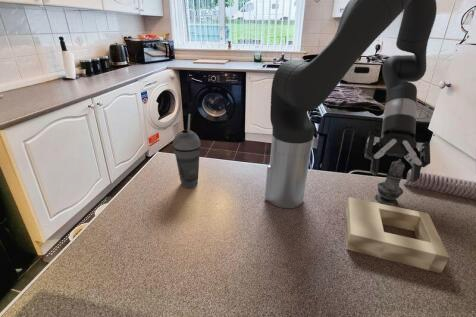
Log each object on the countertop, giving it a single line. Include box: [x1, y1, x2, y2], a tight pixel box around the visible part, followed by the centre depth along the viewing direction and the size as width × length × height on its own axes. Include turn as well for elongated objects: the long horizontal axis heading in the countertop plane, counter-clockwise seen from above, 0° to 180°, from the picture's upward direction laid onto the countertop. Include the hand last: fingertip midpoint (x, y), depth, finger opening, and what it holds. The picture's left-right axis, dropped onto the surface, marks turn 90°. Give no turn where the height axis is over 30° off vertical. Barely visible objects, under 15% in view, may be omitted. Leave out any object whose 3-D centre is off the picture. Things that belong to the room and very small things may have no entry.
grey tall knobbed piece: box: [374, 158, 406, 207], centre depth 65 cm, size 6×6×12 cm
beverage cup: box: [172, 113, 202, 189], centre depth 68 cm, size 7×7×20 cm
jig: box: [344, 197, 450, 274], centre depth 54 cm, size 16×13×4 cm
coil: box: [402, 169, 476, 201], centre depth 71 cm, size 5×5×18 cm
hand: (394, 177), depth 64 cm, fingers open, 8 cm apart
